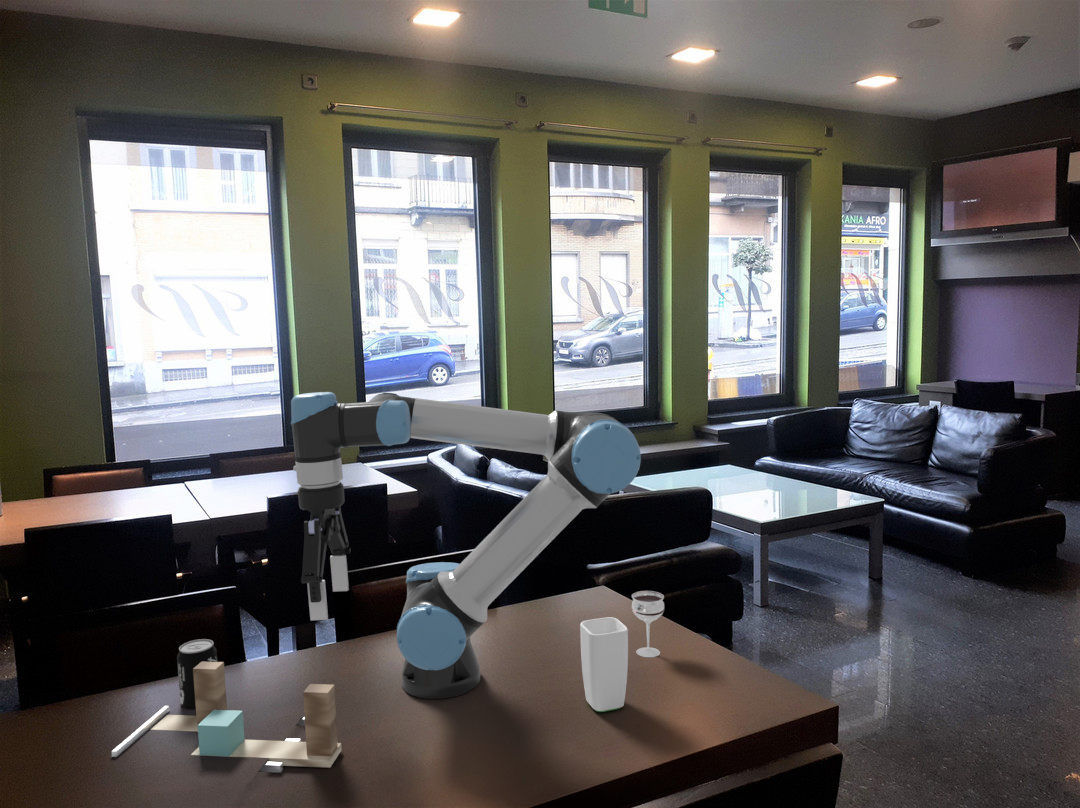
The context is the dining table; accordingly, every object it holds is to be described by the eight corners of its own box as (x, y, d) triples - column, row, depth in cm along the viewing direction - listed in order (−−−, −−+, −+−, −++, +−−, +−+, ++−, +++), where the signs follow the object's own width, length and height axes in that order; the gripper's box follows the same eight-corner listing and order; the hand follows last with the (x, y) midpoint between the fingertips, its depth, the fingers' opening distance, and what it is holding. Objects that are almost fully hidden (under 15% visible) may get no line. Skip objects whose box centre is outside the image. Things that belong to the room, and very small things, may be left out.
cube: (244, 739, 130) (242, 710, 129) (229, 756, 125) (227, 726, 124) (215, 738, 130) (213, 709, 130) (199, 755, 125) (197, 725, 125)
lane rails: (317, 723, 137) (316, 710, 137) (280, 772, 122) (279, 757, 122) (166, 718, 140) (165, 705, 140) (112, 765, 125) (111, 751, 125)
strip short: (232, 723, 137) (228, 659, 136) (217, 738, 132) (213, 672, 131) (167, 721, 139) (162, 657, 137) (150, 736, 134) (145, 670, 132)
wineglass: (641, 642, 168) (641, 588, 167) (670, 650, 164) (670, 594, 163) (625, 654, 163) (625, 598, 161) (655, 662, 159) (654, 604, 157)
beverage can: (205, 718, 140) (201, 654, 138) (173, 715, 141) (168, 651, 140) (227, 701, 146) (223, 639, 145) (196, 698, 147) (191, 637, 146)
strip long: (341, 750, 128) (338, 681, 127) (330, 767, 123) (326, 696, 122) (207, 744, 130) (202, 677, 129) (191, 761, 125) (186, 692, 124)
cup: (631, 711, 139) (631, 630, 138) (593, 718, 137) (592, 636, 135) (615, 692, 146) (614, 615, 144) (578, 699, 144) (577, 621, 142)
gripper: (319, 470, 146) (329, 581, 148) (272, 502, 121) (285, 634, 123) (359, 468, 146) (368, 579, 148) (321, 499, 121) (332, 631, 123)
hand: (330, 604), depth 136 cm, fingers open, 13 cm apart
